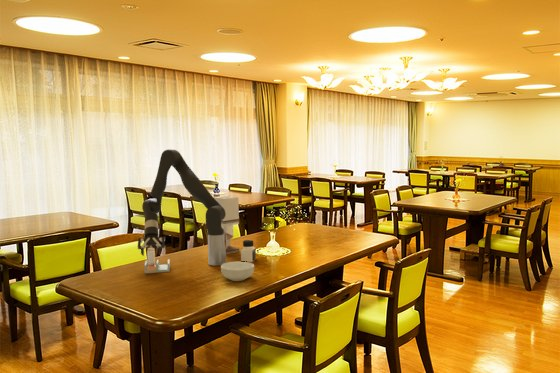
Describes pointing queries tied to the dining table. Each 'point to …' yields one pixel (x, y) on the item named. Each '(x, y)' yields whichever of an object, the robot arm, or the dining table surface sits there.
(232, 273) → the cereal bowl
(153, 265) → the panel
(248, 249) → the medicine bottle
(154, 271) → the slot rack
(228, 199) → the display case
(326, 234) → the dining table surface
